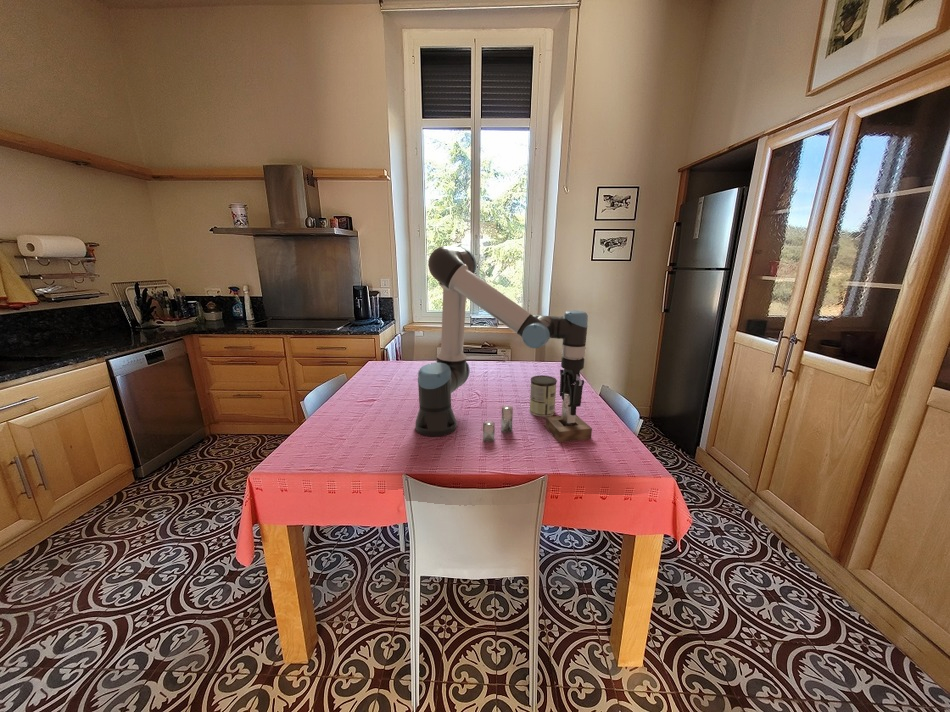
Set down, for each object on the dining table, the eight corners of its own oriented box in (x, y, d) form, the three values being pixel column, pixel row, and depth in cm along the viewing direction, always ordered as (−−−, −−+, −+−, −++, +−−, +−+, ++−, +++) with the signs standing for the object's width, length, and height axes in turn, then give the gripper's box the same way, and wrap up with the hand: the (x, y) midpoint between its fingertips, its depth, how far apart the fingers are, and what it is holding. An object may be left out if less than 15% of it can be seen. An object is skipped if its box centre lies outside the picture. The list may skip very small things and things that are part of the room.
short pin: (484, 442, 120) (484, 426, 119) (481, 437, 124) (481, 421, 122) (495, 441, 121) (496, 425, 119) (492, 436, 125) (493, 420, 123)
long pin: (564, 433, 125) (567, 396, 121) (559, 428, 129) (562, 392, 125) (575, 432, 126) (578, 395, 122) (569, 427, 129) (572, 391, 126)
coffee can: (533, 405, 151) (534, 373, 148) (557, 409, 147) (559, 377, 144) (526, 414, 142) (527, 381, 139) (551, 419, 138) (553, 385, 134)
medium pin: (502, 433, 127) (503, 410, 124) (499, 428, 130) (500, 406, 128) (513, 432, 127) (514, 409, 125) (510, 427, 131) (510, 405, 129)
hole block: (558, 442, 120) (559, 431, 119) (545, 426, 132) (545, 416, 131) (591, 438, 123) (592, 428, 122) (574, 423, 134) (575, 414, 133)
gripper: (596, 363, 113) (589, 429, 119) (571, 350, 128) (567, 409, 135) (574, 364, 111) (569, 431, 117) (552, 351, 127) (548, 411, 133)
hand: (568, 419), depth 126 cm, fingers closed on long pin, 4 cm apart
